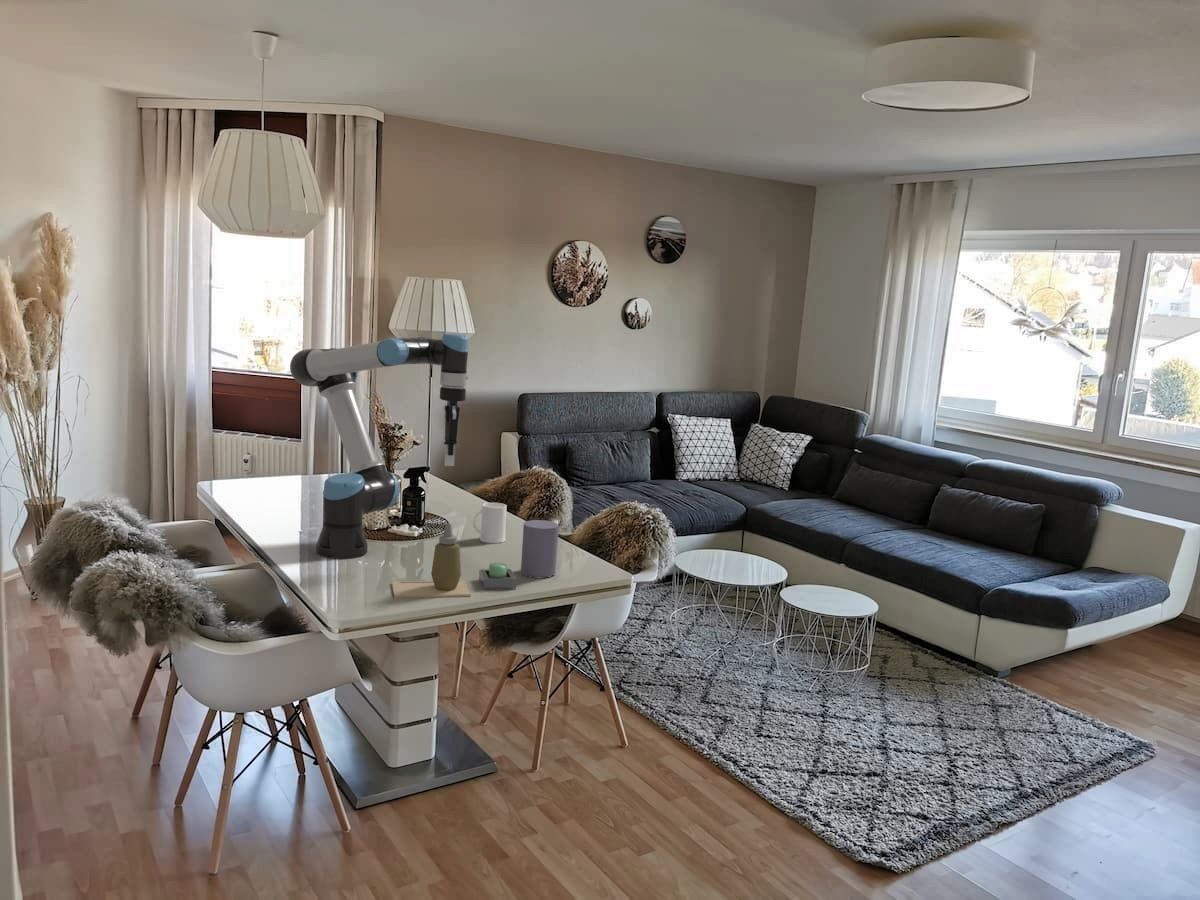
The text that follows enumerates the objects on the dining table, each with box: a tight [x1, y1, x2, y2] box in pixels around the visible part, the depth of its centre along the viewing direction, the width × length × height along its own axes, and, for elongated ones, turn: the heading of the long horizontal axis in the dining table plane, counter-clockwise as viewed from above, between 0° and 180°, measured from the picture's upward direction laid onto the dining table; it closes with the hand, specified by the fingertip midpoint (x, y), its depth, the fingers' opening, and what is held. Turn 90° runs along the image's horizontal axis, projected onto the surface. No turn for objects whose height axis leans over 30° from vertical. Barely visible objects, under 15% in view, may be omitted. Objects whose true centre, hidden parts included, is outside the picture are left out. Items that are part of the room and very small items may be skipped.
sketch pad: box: [391, 580, 471, 599], centre depth 248 cm, size 20×12×1 cm, turn 106°
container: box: [520, 519, 560, 578], centre depth 269 cm, size 10×10×15 cm
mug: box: [472, 502, 508, 544], centre depth 302 cm, size 12×8×12 cm
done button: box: [488, 562, 508, 578], centre depth 256 cm, size 5×5×5 cm
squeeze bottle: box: [430, 522, 462, 590], centre depth 247 cm, size 8×8×18 cm
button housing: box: [478, 568, 517, 591], centre depth 257 cm, size 9×9×3 cm
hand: (449, 465), depth 272 cm, fingers closed
